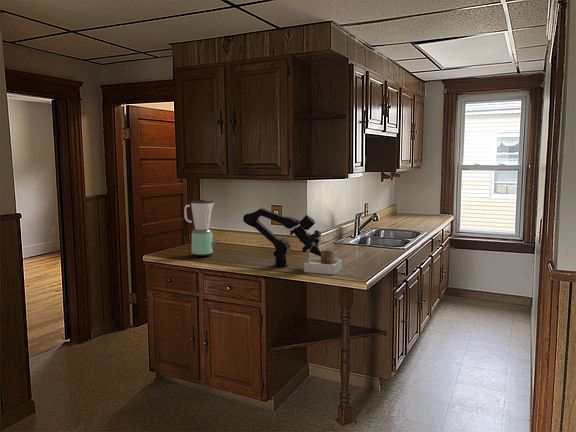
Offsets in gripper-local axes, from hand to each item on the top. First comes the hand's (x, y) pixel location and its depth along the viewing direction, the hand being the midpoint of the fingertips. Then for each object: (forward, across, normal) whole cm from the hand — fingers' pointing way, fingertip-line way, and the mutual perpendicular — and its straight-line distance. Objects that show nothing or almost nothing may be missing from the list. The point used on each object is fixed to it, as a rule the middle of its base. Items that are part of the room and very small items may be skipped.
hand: (321, 256), depth 268 cm
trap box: (+6, -3, +4) cm, 8 cm away
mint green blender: (-52, +10, +62) cm, 82 cm away
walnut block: (+5, 0, +1) cm, 5 cm away
